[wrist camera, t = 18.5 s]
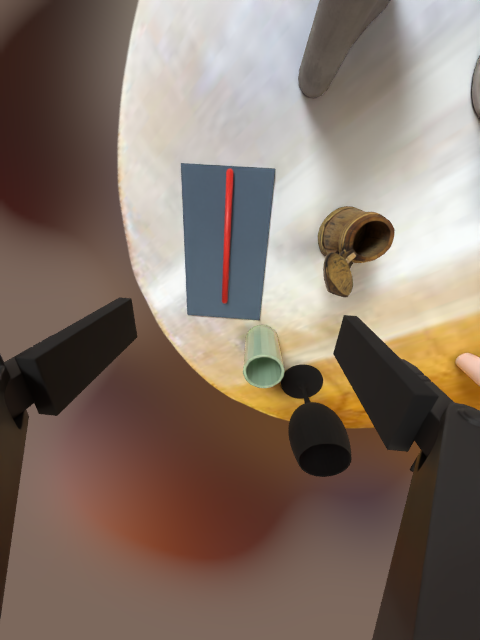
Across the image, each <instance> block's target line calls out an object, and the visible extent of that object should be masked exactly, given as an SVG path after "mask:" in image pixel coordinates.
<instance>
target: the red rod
mask: <svg viewBox="0 0 480 640" xmlns="http://www.w3.org/2000/svg"><path fill="white" fill-rule="evenodd" d="M232 194H233V170H232V169H231V168H229V169H227V171H226V196H225V224H224V253H223V281H222V302H223V303H224V304H225V303H227V301H228V280H229V258H230V237H231V215H232Z"/></svg>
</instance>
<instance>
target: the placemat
mask: <svg viewBox="0 0 480 640" xmlns="http://www.w3.org/2000/svg"><path fill="white" fill-rule="evenodd" d="M229 168H231V169H232V170H233V194H232V215H231V237H230V258H229V280H228V301H227V303H225V304H224V303H223V302H222V281H223V253H224V224H225V196H226V171H227V169H229ZM181 175H182V198H183V222H184V245H185V268H186V292H187V314H188V315H199V316H212V317H225V318H238V319H251V320H260V310H261V300H262V291H263V281H264V271H265V262H266V252H267V243H268V233H269V223H270V214H271V204H272V195H273V185H274V175H275V169H272V168H255V167H237V166H220V165H202V164H185V163H181Z"/></svg>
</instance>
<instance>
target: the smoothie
mask: <svg viewBox="0 0 480 640" xmlns="http://www.w3.org/2000/svg"><path fill="white" fill-rule="evenodd" d="M455 363H456V365H457V366H458V367H459V368H460V369H461V370H463V371H464V372H465V373H466V374H467V375H468V376H469V377H470V378H471V379H472V380H473V381H474V382H475V383H476V384H477V385H479V386H480V357H477V356H475V355H473V354H471V353H464V354H461V355H460V356H458V357H457V359H456V361H455Z"/></svg>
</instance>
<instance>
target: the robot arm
mask: <svg viewBox="0 0 480 640" xmlns="http://www.w3.org/2000/svg"><path fill="white" fill-rule="evenodd" d="M472 99H473V105H474V108H475V111H476V113H477V115H478V117H479V118H480V56H479V58H478V61H477V64H476V68H475V72H474V76H473V83H472ZM136 338H137V332H136V326H135V319H134V313H133V306H132V300H131V298H118V299H116V300H114V301H113V302H111V303H109V304H107V305H106V306H104V307H102V308H100V309H98V310H97V311H95V312H93V313H92V314H90V315H88V316H86V317H84V318H83V319H81V320H79V321H77V322H76V323H74V324H72V325H70V326H69V327H67V328H65V329H63V330H62V331H60V332H58V333H56V334H54V335H52V336H50V337H48V338H46V339H45V340H43V341H42V342H39V343H38V344H36V345H34V346H33V347H31V348H29V349H27V350H25V351H24V352H22V353H20V354H18V355H16V356H15V357H13V358H11V359H9V360H7V361H6V362H4V361H3V359H2V357H1V355H0V617H1V610H2V603H3V596H4V589H5V582H6V574H7V568H8V560H9V554H10V546H11V539H12V532H13V524H14V517H15V511H16V504H17V496H18V490H19V483H20V475H21V468H22V461H23V454H24V446H25V440H26V432H27V426H28V418H29V416H28V413H27V411H26V409H27V408H28V407H29V406H31V405H32V404H33V403H35V406H36V408H37V410H38V413H39V414H45V415H55V416H57V415H58V414H59V413H60V412H61V411H62V410H63V409H64V408H66V407H67V406H68V404H69V403H71V402H72V401H73V399H75V398H76V397H77V395H79V394H80V393H81V392H82V391H83V390H84V389H85V388H86V387H87V386H88V385H89V384H90V383H91V382H92V381H93V380H94V379H95V378H96V377H97V376H98V375H99V374H100V373H101V372H102V371H103V370H104V369H105V368H106V367H107V366H108V365H109V364H110V363H111V362H112V361H113V360H114V359H115V358H116V357H117V356H118V355H120V354H121V352H123V351H124V350H125V349H126V348H127V347H128V346H129V345H130V344H131V343H132V342H133V341H134V340H135V339H136ZM333 354H334V356H335V358H336V359H337V361H338V363H339V365H340V367H341V368H342V370H343V372H344V374H345V375H346V377H347V379H348V381H349V382H350V384H351V386H352V388H353V390H354V391H355V393H356V395H357V397H358V398H359V400H360V402H361V404H362V406H363V407H364V409H365V411H366V413H367V414H368V416H369V418H370V420H371V421H372V423H373V425H374V427H375V429H376V430H377V432H378V434H379V435H380V437H381V439H382V441H383V443H384V445H385V446H386V448H387V449H388V450H397V451H406V452H408V451H409V449H410V447H411V445H412V444H413V442H414V441H415V442H416V443H417V445H418V446H419V447H420V449H421V451H420V453H419V455H418V456H417V458H416V460H415V461H414V463H413V465H412V466H411V468H410V470H411V471H412V472H413V471H414V472H413V476H412V480H411V484H410V488H409V493H408V496H407V501H406V505H405V509H404V513H403V517H402V521H401V525H400V529H399V533H398V537H397V541H396V545H395V550H394V554H393V557H392V562H391V565H390V570H389V574H388V578H387V582H386V586H385V590H384V594H383V599H382V602H381V606H380V610H379V614H378V618H377V622H376V626H375V630H374V634H373V639H372V640H480V411H479V410H477V409H475V408H473V407H470V406H467V405H464V404H458V403H454V402H453V401H452V400H451V399H450V398H449V397H448V396H447V395H446V394H445V393H444V392H443V391H441V390H440V389H439V388H438V387H437V386H436V385H435V384H434V383H433V382H431V380H430V379H429V378H428V377H426V376H424V374H423V373H422V372H421V371H420V370H419V369H418V368H417V367H416V366H414V365H412V364H411V363H409V362H407V361H406V360H404V359H400V358H399V357H398V356H397V355H396V354H395V353H394V352H393V351H392V350H391V349H390V348H389V347H388V346H387V345H386V344H385V343H384V342H383V341H382V340H381V339H380V338H379V337H378V336H377V335H376V334H375V333H374V332H373V331H372V330H371V329H369V328H368V327H367V326H366V325H365V324H364V323H363V322H362V321H361V320H360V319H359V318H358V317H357V316H348V315H344V317H343V321H342V324H341V328H340V331H339V335H338V339H337V342H336V346H335V350H334V353H333Z"/></svg>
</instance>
